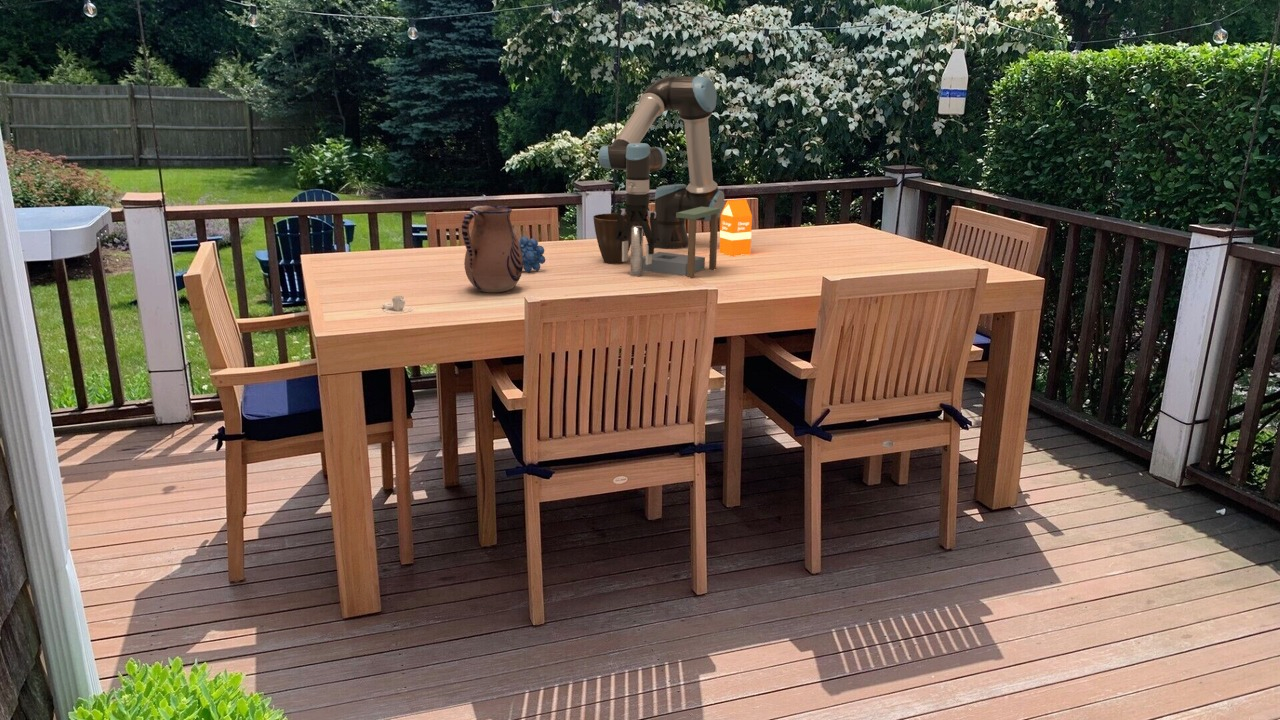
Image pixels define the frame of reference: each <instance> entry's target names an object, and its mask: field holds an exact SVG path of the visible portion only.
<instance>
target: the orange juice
mask: <svg viewBox="0 0 1280 720" xmlns="http://www.w3.org/2000/svg"><path fill="white" fill-rule="evenodd" d="M719 225H720V227H719V228H720V230H719V251H718V252H720V253H724V254H727V255H730V256H729V257H731V256H733V257H735V256H734V255H741V254H749V253H750V254H751V248H752V247H751V246H752V245H751V244H752V226H753V214H752V212H751V209H750V205H749V204H748V201H747V198H744V199H730V200H729V199H728V200H727V201H726V203H725V204H724V206H723V210H722V213H721V215H720V224H719ZM720 253H719V254H720ZM724 254H723V255H724ZM727 255H726V256H727Z"/></svg>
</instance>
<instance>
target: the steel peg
mask: <svg viewBox="0 0 1280 720" xmlns="http://www.w3.org/2000/svg"><path fill="white" fill-rule="evenodd" d="M643 257H644V231H643V228H642V226H641V225H635V226H631V246H630V276H631V277H635V276H639V277H643V276H642V275H644V272H643V271H644V270H643Z"/></svg>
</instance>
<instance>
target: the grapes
mask: <svg viewBox="0 0 1280 720" xmlns="http://www.w3.org/2000/svg"><path fill="white" fill-rule="evenodd" d="M518 242H519V245H520V249H521V253H522V258H523V270H524V271H525V272H526V273H527V272H528V273H530V272H532V270H534V271H537V272H538V271H539V270H541V268H542V267H541V265H543V264H545V262H546V260H547V259H546V258H545V255H543V254H544V253H545V251H546V250H545V249H544V246H542V245H539V242H538V240H537V239H536V238H532V237H531V238H530V239H529V238H528V237H527V236H524V235H523V236H521V237H520V240H518Z"/></svg>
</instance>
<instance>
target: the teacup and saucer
mask: <svg viewBox="0 0 1280 720" xmlns="http://www.w3.org/2000/svg"><path fill="white" fill-rule="evenodd" d="M391 300H392V301H386V302H383V303H382V307H383V308H384V309H383V312H384V313H387V314H402V313H403V314H404V313H409V312H412V311H413V310H414V308H413V307H412V306H408V305H406V300H405V299H404V296H403V295H394V296H392V297H391ZM404 308H406V309H408V310H405V311H403V309H404ZM390 310H394V311H390ZM399 311H400V312H399Z"/></svg>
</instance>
